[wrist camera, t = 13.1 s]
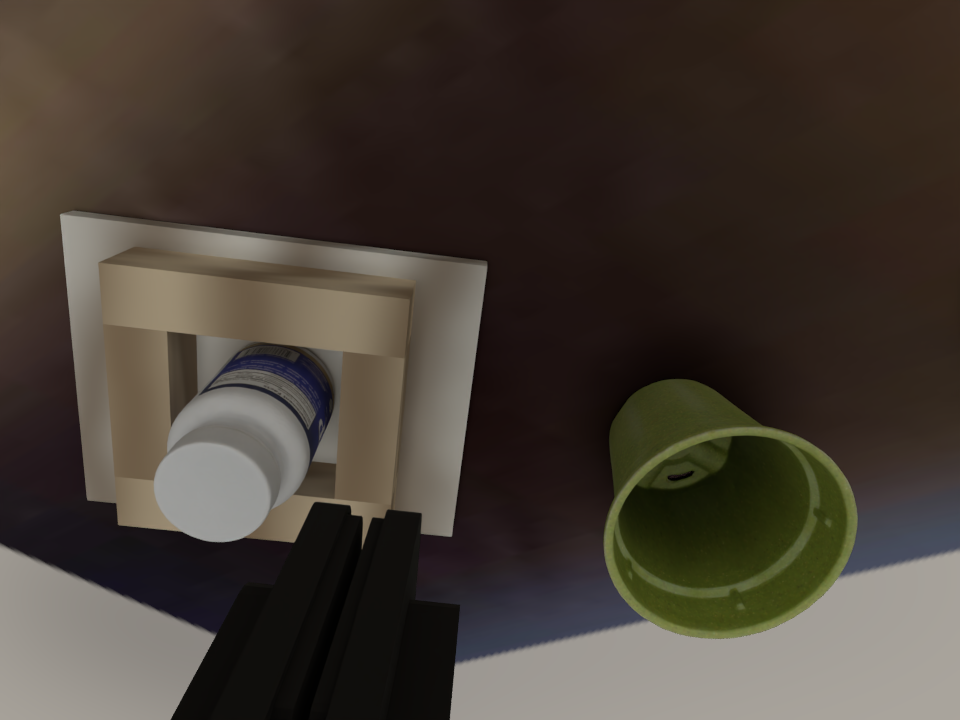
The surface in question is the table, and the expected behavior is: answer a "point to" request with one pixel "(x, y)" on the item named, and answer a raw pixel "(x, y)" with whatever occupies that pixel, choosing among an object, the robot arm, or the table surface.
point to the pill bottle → (244, 441)
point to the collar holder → (280, 320)
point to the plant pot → (720, 515)
